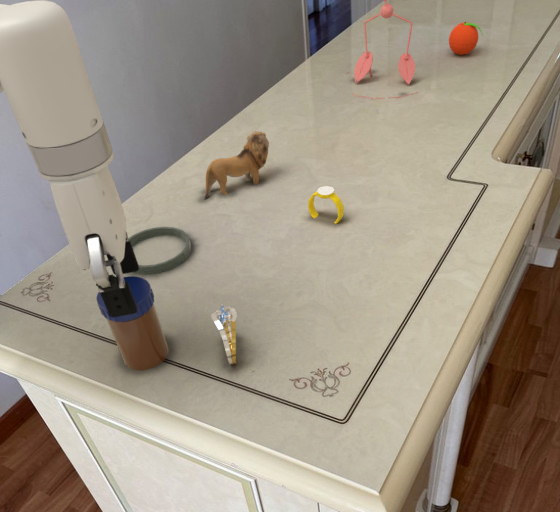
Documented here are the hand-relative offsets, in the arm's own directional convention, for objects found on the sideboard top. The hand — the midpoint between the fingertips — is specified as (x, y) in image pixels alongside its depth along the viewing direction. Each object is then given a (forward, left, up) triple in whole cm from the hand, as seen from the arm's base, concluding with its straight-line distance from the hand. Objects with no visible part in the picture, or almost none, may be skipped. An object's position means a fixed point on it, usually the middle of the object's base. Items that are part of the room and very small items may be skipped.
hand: (125, 291), depth 70 cm
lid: (0, 0, -1) cm, 1 cm away
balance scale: (-18, +94, -11) cm, 96 cm away
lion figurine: (-18, +42, -11) cm, 47 cm away
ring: (+10, +6, -11) cm, 16 cm away
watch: (+3, +39, -11) cm, 41 cm away
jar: (0, 0, -11) cm, 11 cm away
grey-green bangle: (-16, +18, -11) cm, 27 cm away
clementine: (-9, +120, -11) cm, 121 cm away
